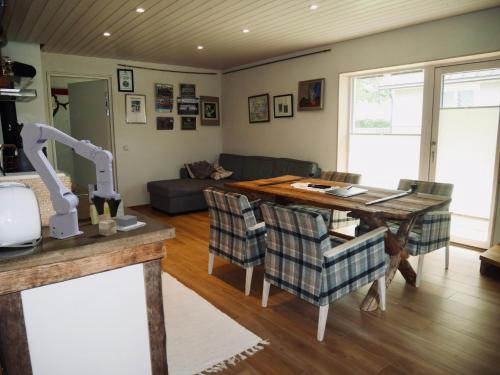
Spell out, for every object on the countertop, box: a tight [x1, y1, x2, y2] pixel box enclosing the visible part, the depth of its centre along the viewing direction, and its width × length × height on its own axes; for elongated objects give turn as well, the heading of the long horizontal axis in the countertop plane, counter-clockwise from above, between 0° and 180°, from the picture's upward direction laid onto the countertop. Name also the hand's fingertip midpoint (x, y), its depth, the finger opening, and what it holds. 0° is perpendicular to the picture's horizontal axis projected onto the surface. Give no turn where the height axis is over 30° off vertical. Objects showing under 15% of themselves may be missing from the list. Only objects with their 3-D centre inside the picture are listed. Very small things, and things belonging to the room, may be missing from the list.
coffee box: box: [88, 182, 110, 218], centre depth 167 cm, size 9×6×16 cm
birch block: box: [98, 220, 118, 237], centre depth 140 cm, size 4×4×5 cm
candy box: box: [89, 199, 125, 225], centre depth 161 cm, size 16×2×8 cm, turn 149°
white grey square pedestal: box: [115, 214, 147, 232], centre depth 151 cm, size 11×11×4 cm
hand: (107, 215), depth 140 cm, fingers open, 7 cm apart
